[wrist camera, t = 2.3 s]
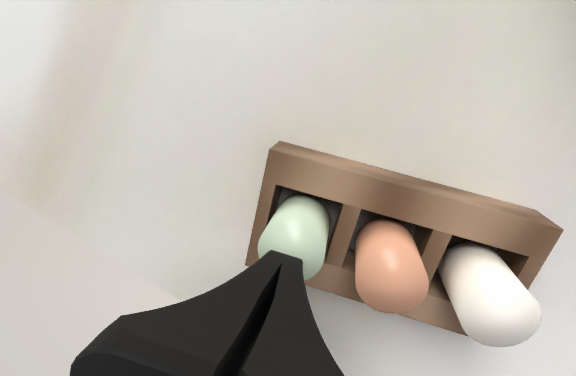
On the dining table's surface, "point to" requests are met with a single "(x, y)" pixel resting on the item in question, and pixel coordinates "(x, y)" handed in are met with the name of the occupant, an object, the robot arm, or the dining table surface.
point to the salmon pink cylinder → (389, 266)
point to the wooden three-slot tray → (407, 207)
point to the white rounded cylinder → (488, 296)
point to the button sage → (299, 231)
